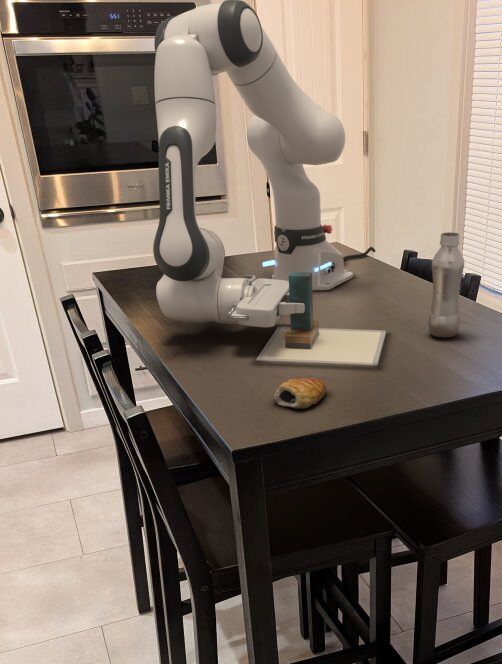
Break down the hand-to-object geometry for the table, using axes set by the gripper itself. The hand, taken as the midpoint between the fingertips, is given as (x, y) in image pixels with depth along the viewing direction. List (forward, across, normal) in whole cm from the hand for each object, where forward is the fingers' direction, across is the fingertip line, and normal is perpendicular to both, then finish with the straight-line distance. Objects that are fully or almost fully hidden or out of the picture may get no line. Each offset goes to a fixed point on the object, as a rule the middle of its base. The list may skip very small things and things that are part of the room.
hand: (307, 304), depth 141 cm
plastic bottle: (+27, +8, +8) cm, 29 cm away
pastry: (+4, -28, +8) cm, 29 cm away
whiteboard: (+4, -2, +8) cm, 9 cm away
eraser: (-1, 0, +7) cm, 7 cm away
